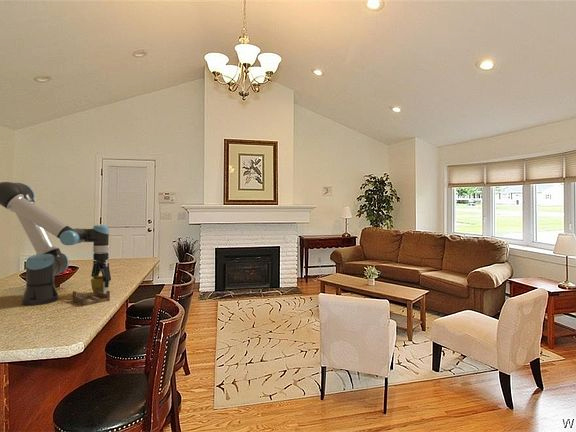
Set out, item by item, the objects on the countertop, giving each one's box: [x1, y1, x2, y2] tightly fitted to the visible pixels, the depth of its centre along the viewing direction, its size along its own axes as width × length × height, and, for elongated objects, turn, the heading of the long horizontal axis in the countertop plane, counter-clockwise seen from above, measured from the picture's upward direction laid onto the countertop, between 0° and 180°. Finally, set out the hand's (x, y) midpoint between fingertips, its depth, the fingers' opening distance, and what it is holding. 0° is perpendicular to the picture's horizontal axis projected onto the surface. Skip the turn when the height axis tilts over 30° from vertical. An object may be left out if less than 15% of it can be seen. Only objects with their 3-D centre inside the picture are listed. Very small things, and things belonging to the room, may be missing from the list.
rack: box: [72, 287, 111, 307], centre depth 179 cm, size 13×13×5 cm
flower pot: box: [90, 275, 111, 294], centre depth 194 cm, size 9×9×9 cm
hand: (100, 291), depth 194 cm, fingers closed on flower pot, 11 cm apart
